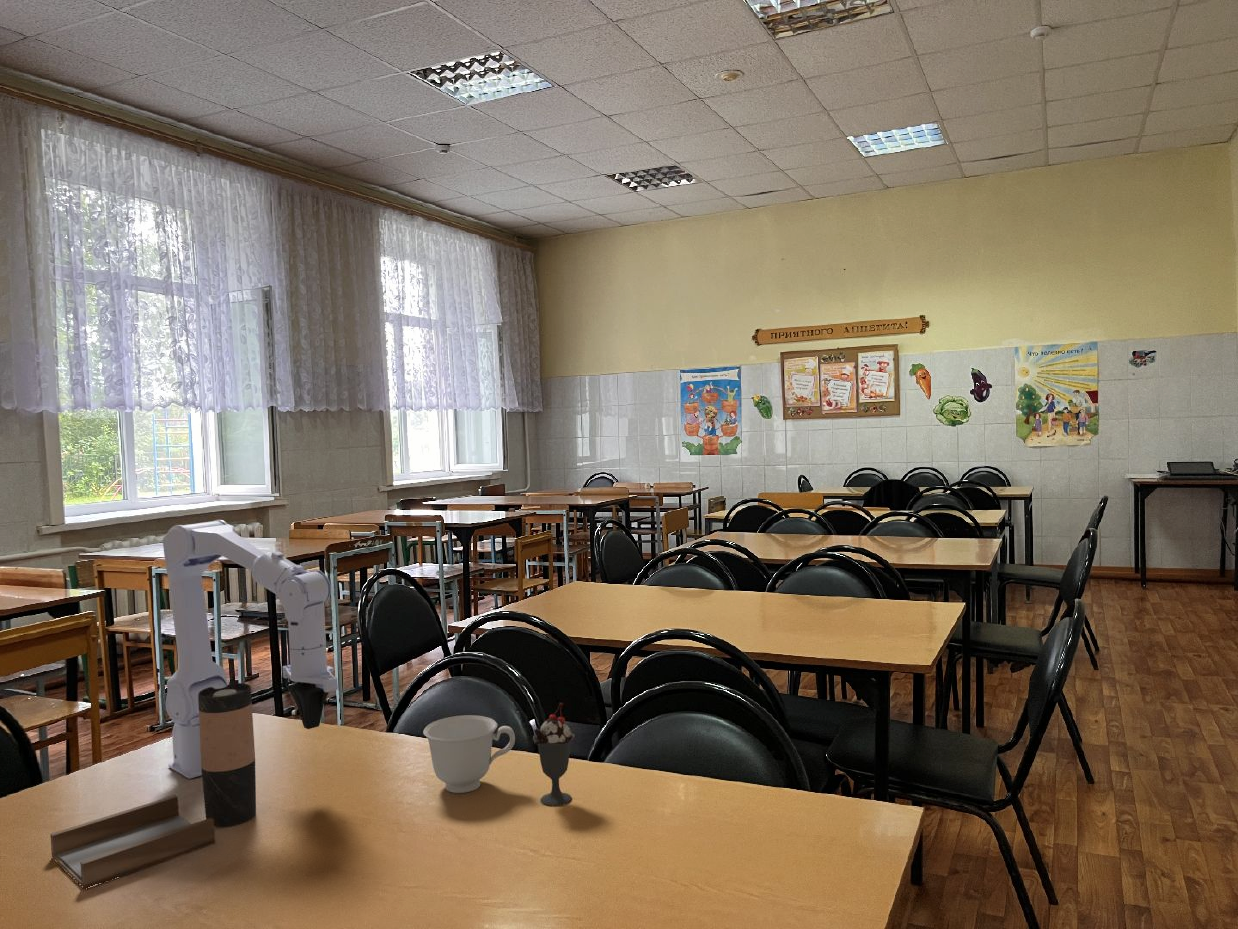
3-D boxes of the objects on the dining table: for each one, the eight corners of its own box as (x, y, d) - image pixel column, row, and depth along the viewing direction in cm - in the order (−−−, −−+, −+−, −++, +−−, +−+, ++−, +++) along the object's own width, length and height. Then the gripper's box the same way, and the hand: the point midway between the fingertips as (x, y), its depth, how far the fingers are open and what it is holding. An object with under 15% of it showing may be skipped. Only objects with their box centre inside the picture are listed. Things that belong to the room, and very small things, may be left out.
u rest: (51, 858, 128) (50, 834, 128) (176, 817, 140) (175, 795, 140) (84, 890, 118) (82, 864, 118) (215, 843, 131) (213, 819, 130)
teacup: (511, 800, 142) (509, 738, 142) (417, 802, 143) (415, 740, 142) (521, 771, 154) (519, 713, 154) (434, 773, 155) (432, 715, 154)
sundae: (579, 791, 145) (576, 699, 144) (573, 809, 138) (570, 712, 138) (539, 791, 146) (536, 699, 145) (531, 808, 139) (527, 712, 138)
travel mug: (238, 830, 135) (231, 698, 134) (193, 827, 136) (186, 696, 136) (268, 808, 142) (261, 683, 141) (224, 805, 144) (218, 682, 143)
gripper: (352, 647, 147) (356, 729, 147) (308, 635, 156) (312, 712, 157) (312, 656, 141) (316, 741, 142) (269, 643, 151) (273, 723, 152)
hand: (311, 727), depth 149 cm, fingers closed
